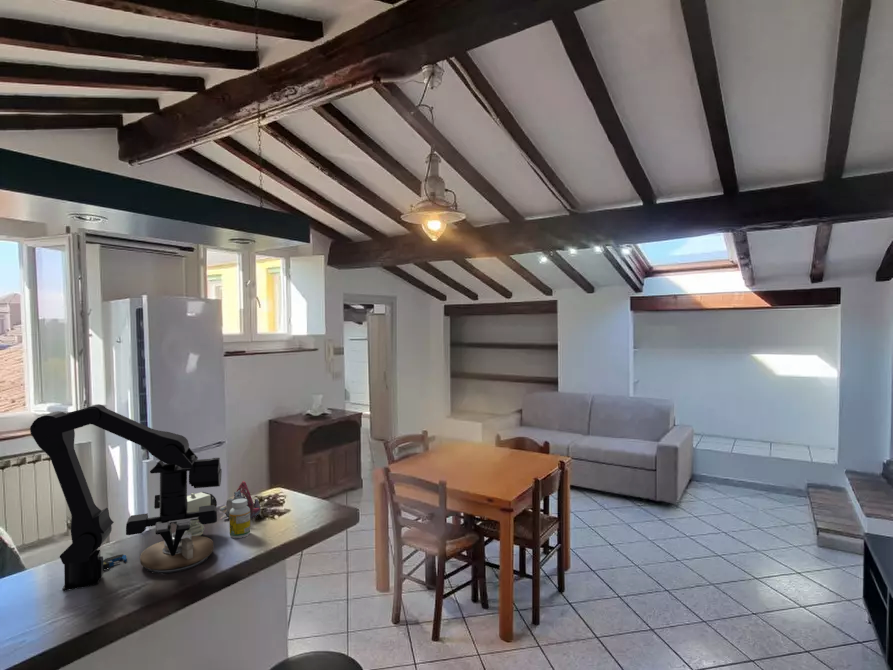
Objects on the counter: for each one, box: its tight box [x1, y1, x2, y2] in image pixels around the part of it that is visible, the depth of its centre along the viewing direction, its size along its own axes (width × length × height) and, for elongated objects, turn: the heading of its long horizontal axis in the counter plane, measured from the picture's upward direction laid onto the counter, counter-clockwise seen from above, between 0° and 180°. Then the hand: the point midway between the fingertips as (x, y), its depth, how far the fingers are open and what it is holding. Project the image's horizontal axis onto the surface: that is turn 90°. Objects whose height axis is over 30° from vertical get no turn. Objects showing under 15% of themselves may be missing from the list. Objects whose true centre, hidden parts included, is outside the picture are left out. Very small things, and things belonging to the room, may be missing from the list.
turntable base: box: [145, 555, 210, 575], centre depth 126 cm, size 14×14×1 cm
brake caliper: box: [219, 480, 262, 520], centre depth 155 cm, size 11×11×12 cm
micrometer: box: [103, 553, 128, 571], centre depth 123 cm, size 12×2×5 cm
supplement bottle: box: [228, 499, 251, 539], centre depth 142 cm, size 5×5×10 cm
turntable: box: [139, 535, 214, 570], centre depth 126 cm, size 16×16×5 cm
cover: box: [162, 531, 192, 555], centre depth 127 cm, size 7×7×4 cm
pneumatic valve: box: [173, 491, 218, 536], centre depth 141 cm, size 6×12×12 cm, turn 148°
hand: (173, 555), depth 121 cm, fingers closed
